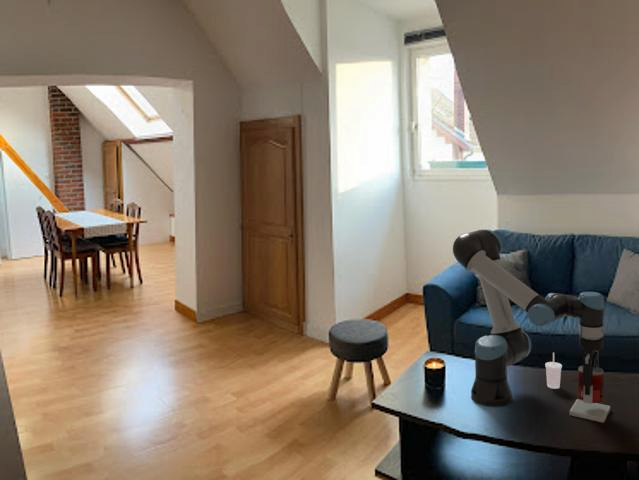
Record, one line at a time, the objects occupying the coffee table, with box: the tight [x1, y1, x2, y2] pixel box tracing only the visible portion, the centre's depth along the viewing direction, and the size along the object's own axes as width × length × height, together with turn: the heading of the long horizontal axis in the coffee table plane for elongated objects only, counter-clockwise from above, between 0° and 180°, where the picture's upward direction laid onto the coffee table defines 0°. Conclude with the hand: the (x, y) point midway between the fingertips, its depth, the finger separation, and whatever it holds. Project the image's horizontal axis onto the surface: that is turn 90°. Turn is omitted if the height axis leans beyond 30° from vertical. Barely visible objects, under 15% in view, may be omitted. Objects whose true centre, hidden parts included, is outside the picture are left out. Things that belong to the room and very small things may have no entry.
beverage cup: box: [544, 352, 563, 390], centre depth 215 cm, size 6×6×14 cm
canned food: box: [577, 365, 605, 404], centre depth 192 cm, size 8×8×11 cm
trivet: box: [569, 398, 611, 424], centre depth 194 cm, size 11×11×2 cm
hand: (590, 398), depth 193 cm, fingers closed on canned food, 8 cm apart
